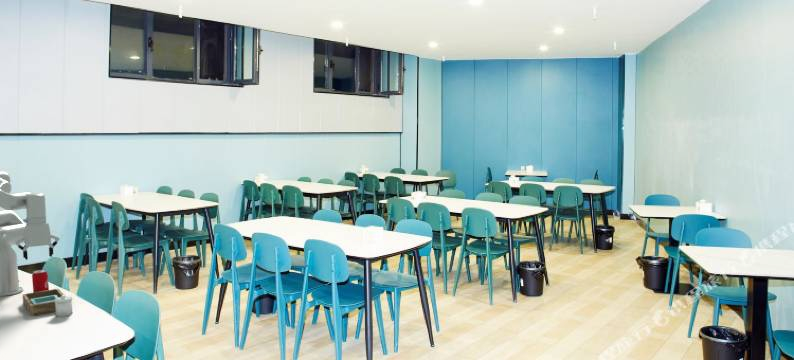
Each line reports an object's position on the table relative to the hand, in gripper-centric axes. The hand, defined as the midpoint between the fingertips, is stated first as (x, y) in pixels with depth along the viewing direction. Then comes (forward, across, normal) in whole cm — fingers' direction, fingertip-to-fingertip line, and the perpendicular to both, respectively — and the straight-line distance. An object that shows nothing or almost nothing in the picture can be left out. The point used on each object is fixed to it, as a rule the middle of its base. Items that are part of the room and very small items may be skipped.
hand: (38, 257), depth 271 cm
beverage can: (+19, 0, +1) cm, 19 cm away
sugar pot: (+18, +4, -36) cm, 40 cm away
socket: (+18, 0, -19) cm, 26 cm away
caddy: (+18, 0, -19) cm, 26 cm away
